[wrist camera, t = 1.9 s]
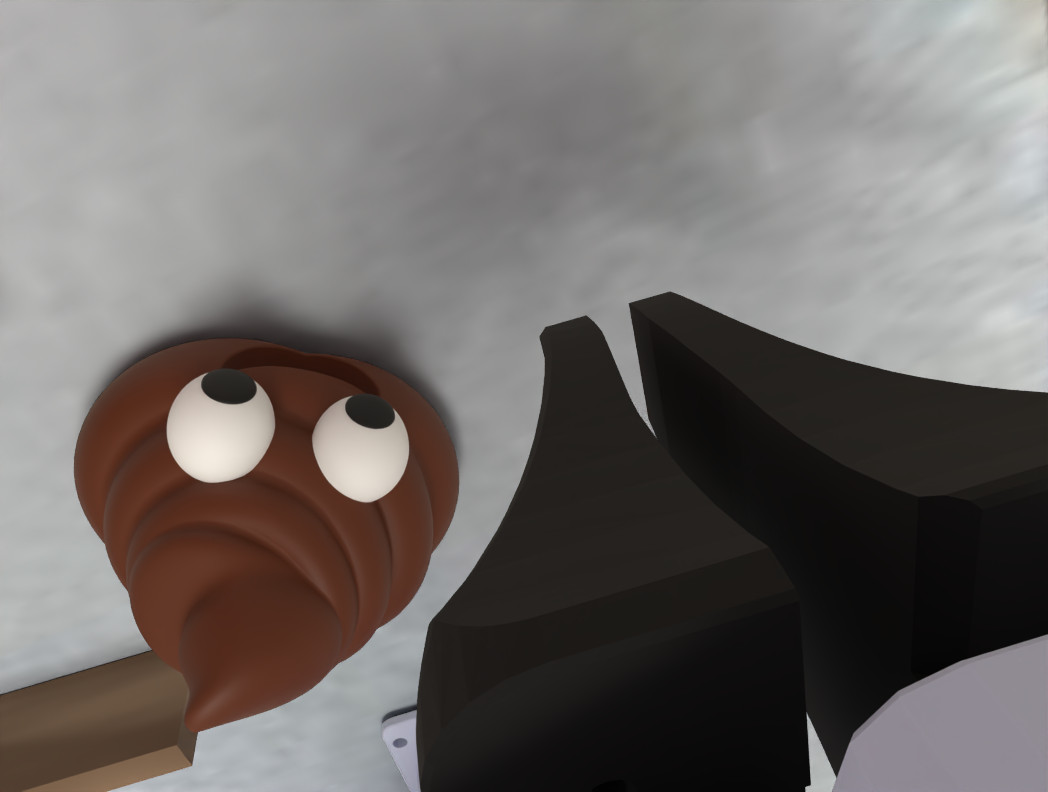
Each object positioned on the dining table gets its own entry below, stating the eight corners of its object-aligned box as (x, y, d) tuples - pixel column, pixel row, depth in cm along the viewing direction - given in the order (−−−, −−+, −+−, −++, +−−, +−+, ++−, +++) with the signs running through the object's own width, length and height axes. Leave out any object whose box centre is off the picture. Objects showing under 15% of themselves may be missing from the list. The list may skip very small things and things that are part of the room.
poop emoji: (77, 540, 25) (-48, 851, 17) (103, 272, 21) (-44, 513, 13) (415, 579, 28) (443, 858, 20) (492, 352, 24) (564, 586, 16)
